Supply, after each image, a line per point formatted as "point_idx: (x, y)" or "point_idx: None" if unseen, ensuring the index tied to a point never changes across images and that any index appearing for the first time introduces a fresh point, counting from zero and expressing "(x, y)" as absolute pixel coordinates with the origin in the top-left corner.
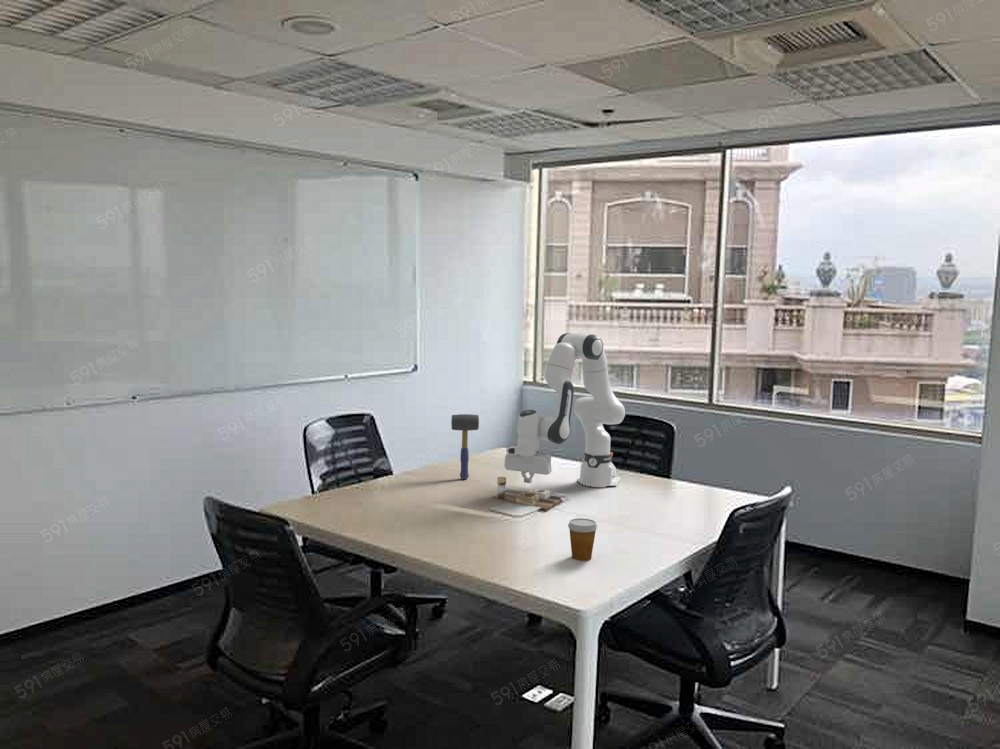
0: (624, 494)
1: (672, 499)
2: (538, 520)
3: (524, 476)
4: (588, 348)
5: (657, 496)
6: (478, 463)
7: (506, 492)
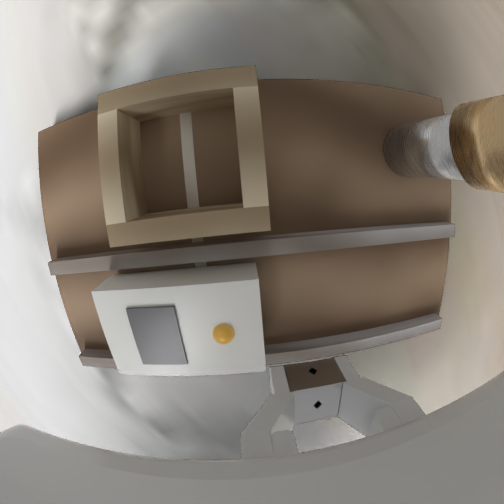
0: None
1: None
2: (49, 17)
3: (361, 398)
4: None
5: None
6: None
7: (426, 292)
